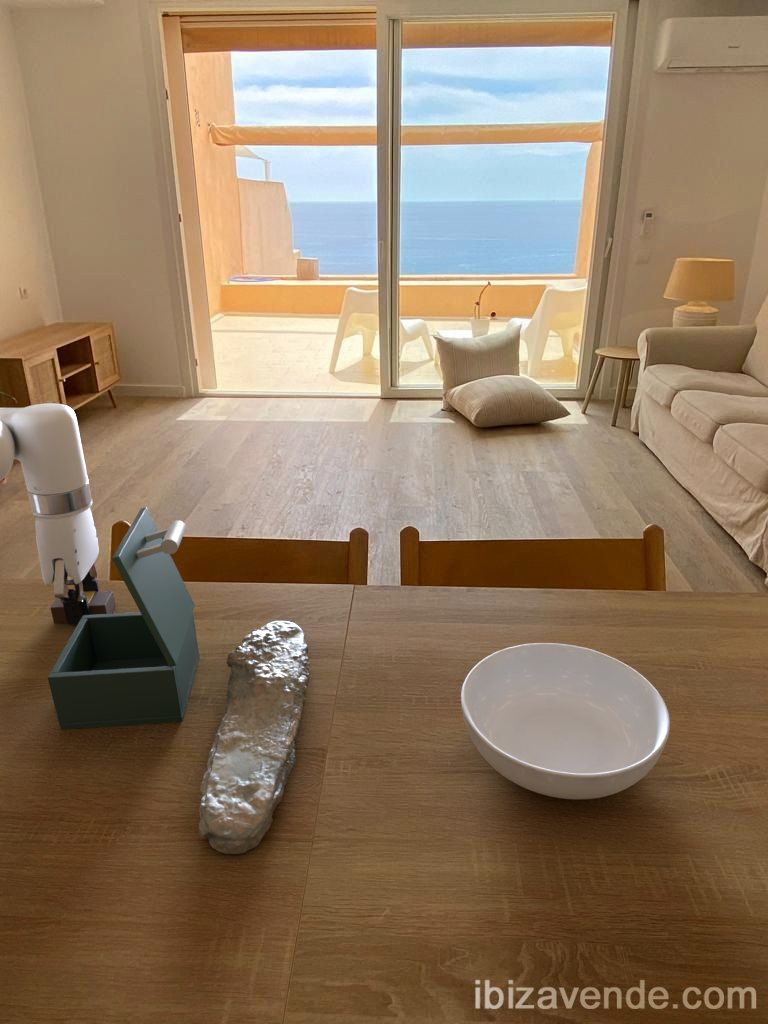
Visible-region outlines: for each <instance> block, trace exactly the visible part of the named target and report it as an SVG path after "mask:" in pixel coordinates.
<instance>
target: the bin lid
mask: <svg viewBox="0 0 768 1024" xmlns="http://www.w3.org/2000/svg"><path fill="white" fill-rule="evenodd" d="M186 529H187V525H186V524H185V522H183V521H182V520H179V519H174V520H172V521H171V523H170V524H169V526H168V527H166V528H163V529H160V530H159V529H158V527H157V525H156V523H155V521H154V519H153V516H152V515H151V513H150V511H149V509H148V507H147V506H145V507H141V508H140V509H139V511H138V513H137V514H136V515H135V518H134V519H133V522H131V525H130V526H129V528H128V530H127V532H125V535H124V536H123V538H122V540H121V542H120V544H119V545H118V547H117V548H116V551H115V552H114V554H113V556H112V557H111V560H112V562H113V563H114V565H115V567H116V570H117V572H118V573H119V575H120V576H121V577H120V578H122V581H123V583H124V584H125V586H126V588H127V590H128V592H129V593H130V595H131V598H132V599H133V601H134V603H135V605H136V606H137V608H138V610H139V612H141V614H142V616H143V618H144V620H145V622H146V623H147V625H148V627H149V629H150V631H151V633H152V635H153V637H154V638H155V640H156V642H157V644H158V646H159V648H160V650H161V652H162V653H163V655H164V657H165V659H166V661H167V663H168V665H169V666H170V667H172V666H175V665H176V664H177V661H178V658H179V655H180V652H181V648H182V645H183V642H184V639H185V635H186V632H187V629H188V626H189V622H190V619H191V616H192V613H193V614H194V609H195V607H196V604H195V603H194V600H193V598H192V596H191V594H190V592H189V589H188V588H187V586H186V584H185V582H184V579H183V578H182V576H181V574H180V572H179V570H178V568H177V566H176V564H175V562H174V559H173V558H172V556H171V555H173V554H175V553H176V552H177V551H178V550H179V547H180V545H181V542H182V540H183V537H184V535H185V532H186Z"/></svg>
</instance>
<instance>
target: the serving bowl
mask: <svg viewBox="0 0 768 1024" xmlns="http://www.w3.org/2000/svg"><path fill="white" fill-rule="evenodd" d="M460 704H461V711H462V717H463V721H464V725H465V728H466V730H467V733H468V736H469V738H470V740H471V742H472V743H473V745H474V747H475V749H476V750H477V751H478V753H479V755H481V757H482V758H483V759H484V760H485V761H486V762H487V763H488V764H489V765H490V766H491V767H492V768H493V769H494V770H495V771H496V772H498V773H499V774H500V775H502V776H503V777H504V778H505V779H507V780H509V781H510V782H512V783H514V784H515V785H518V786H519V787H521V788H524V789H526V790H528V791H531V792H533V793H536V794H539V795H543V796H547V797H551V798H556V799H557V798H558V799H565V800H592V799H600V798H604V797H608V796H611V795H614V794H617V793H620V792H622V791H624V790H627V789H628V788H630V787H632V786H633V785H635V784H637V783H638V782H639V781H641V780H642V779H643V778H644V777H645V776H646V775H648V773H649V772H650V771H651V770H652V769H653V768H654V766H655V765H656V764H657V762H658V761H659V759H660V757H661V756H662V753H663V751H664V750H665V747H666V744H667V742H668V740H669V736H670V732H671V719H670V713H669V710H668V707H667V704H666V702H665V700H664V699H663V697H662V696H661V694H660V693H659V691H658V690H657V689H656V687H655V686H654V685H653V684H652V683H651V682H650V681H649V680H648V679H647V678H645V676H643V675H642V674H641V673H639V671H637V670H636V669H634V668H632V667H631V666H630V665H627V664H626V663H624V662H623V661H620V660H618V659H617V658H614V657H612V656H610V655H607V654H605V653H603V652H599V651H597V650H594V649H591V648H587V647H583V646H578V645H573V644H565V643H554V642H553V643H552V642H538V643H537V642H536V643H535V642H534V643H525V644H519V645H514V646H510V647H506V648H504V649H501V650H498V651H496V652H493V653H492V654H489V655H488V656H486V657H484V658H483V659H481V660H480V661H479V662H478V663H477V664H475V665H474V667H472V669H471V670H470V671H469V673H468V674H467V676H466V677H465V679H464V682H463V684H462V688H461V693H460Z"/></svg>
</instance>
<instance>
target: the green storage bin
mask: <svg viewBox="0 0 768 1024" xmlns="http://www.w3.org/2000/svg"><path fill="white" fill-rule="evenodd" d="M199 660H200V650H199V643H198V637H197V631H196V624H195V617H194V612H193V613H192V616H191V619H190V622H189V626H188V629H187V632H186V635H185V639H184V642H183V645H182V648H181V652H180V655H179V658H178V661H177V664H176V665H175V666H172V667H170V666H169V665H168V663H167V661H166V659H165V657H164V655H163V653H162V652H161V650H160V648H159V646H158V644H157V642H156V640H155V638H154V637H153V635H152V633H151V631H150V629H149V627H148V625H147V623H146V622H145V620H144V618H143V616H142V614H141V612H140V611H138V612H120V613H112V614H99V615H83V616H82V618H81V620H80V621H79V623H78V625H76V626H75V628H74V630H73V631H72V634H71V635H70V637H69V638H68V640H67V642H66V644H65V646H64V648H63V649H62V651H61V653H60V655H59V656H58V658H57V660H56V661H55V663H54V665H53V667H52V668H51V670H50V671H49V674H48V676H47V682H48V685H49V691H50V693H51V697H52V701H53V705H54V708H55V714H56V716H57V721H58V723H59V724H58V725H59V728H60V730H78V729H79V730H80V729H92V728H105V727H107V728H108V727H121V726H135V725H136V726H137V725H151V724H153V725H154V724H166V723H167V724H168V723H181V722H183V720H184V717H185V713H186V710H187V705H188V701H189V697H190V693H191V690H192V687H193V683H194V679H195V676H196V671H197V668H198V663H199Z"/></svg>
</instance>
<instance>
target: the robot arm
mask: <svg viewBox="0 0 768 1024" xmlns="http://www.w3.org/2000/svg"><path fill="white" fill-rule="evenodd" d="M80 435H81V434H80V429H79V425H78V419H77V416H76V413H75V411H74V410H73V409H72V408H71V407H70V406H68V405H66V404H62V403H56V402H55V403H53V402H48V403H38V404H33V405H28V406H25V407H0V482H1V481H3V480H4V479H5V478H6V477H7V476H8V475H9V473H10V472H11V470H12V468H13V464H14V461H15V460H17V461H18V462H20V466H21V470H22V474H23V478H24V483H25V487H26V492H27V496H28V501H29V504H30V509H31V513H32V515H33V516H35V518H34V528H35V530H34V531H35V541H36V548H37V553H38V554H37V555H38V561H39V566H40V571H41V577H42V581H43V583H44V585H46V586H51V585H53V583H54V585H53V596H54V598H55V599H57V598H60V599H61V602H62V603H63V606H64V611H65V615H66V620H67V623H66V624H67V625H69V626H75V625H76V626H77V625H78V623H79V621H80V620H81V618H82V616H83V615H91V614H90V609H89V604H88V600H87V598H84V592H89V591H96V592H99V591H100V587H99V581H98V580H97V578H98V571H97V568H96V566H95V564H96V561H97V559H98V556H99V552H100V548H99V541H98V539H99V538H98V535H97V529H96V525H95V522H94V518H93V513H92V510H91V508H92V506H93V497H92V492H91V488H90V482H89V475H88V471H87V465H86V462H85V461H86V460H85V456H84V450H83V445H82V440H81V436H80ZM68 577H70V578H68ZM69 586H74V589H73V588H69Z"/></svg>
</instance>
